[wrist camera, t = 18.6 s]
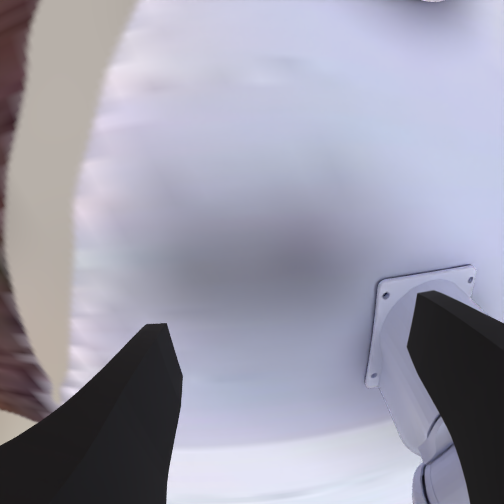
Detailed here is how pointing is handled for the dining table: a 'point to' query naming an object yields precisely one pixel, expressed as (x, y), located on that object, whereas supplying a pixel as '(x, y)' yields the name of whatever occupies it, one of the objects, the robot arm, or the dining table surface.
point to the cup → (432, 0)
